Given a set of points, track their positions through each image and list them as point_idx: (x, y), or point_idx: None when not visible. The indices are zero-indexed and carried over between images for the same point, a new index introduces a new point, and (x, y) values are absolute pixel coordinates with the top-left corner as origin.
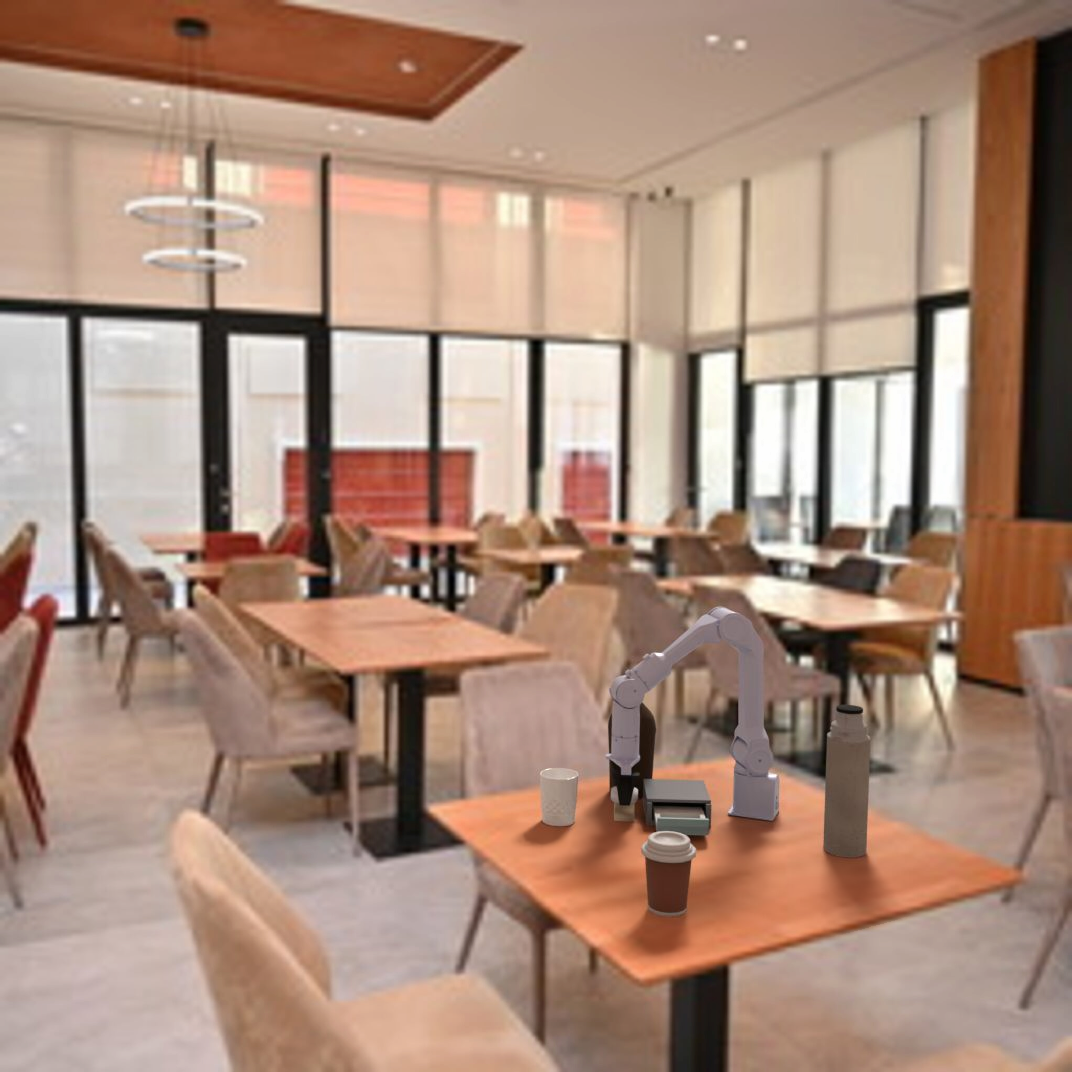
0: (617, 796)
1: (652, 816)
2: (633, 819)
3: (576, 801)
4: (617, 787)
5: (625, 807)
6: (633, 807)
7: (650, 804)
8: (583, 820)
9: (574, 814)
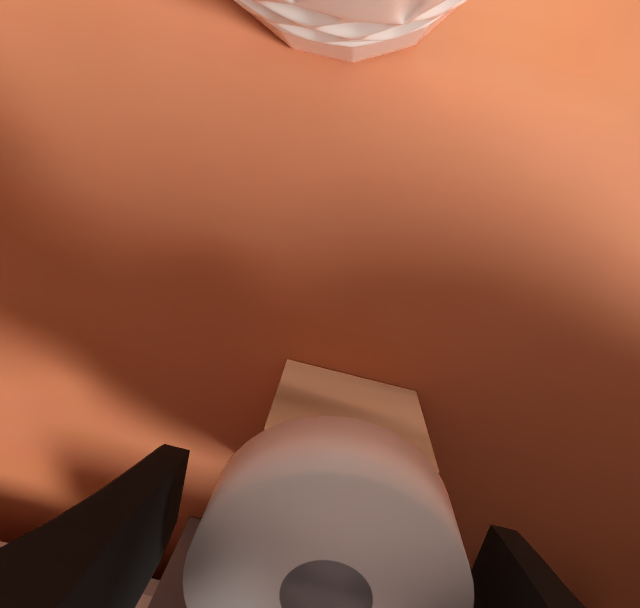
0: (228, 481)
1: None
2: None
3: (289, 19)
4: (2, 550)
5: None
6: None
7: None
8: (335, 140)
9: (270, 25)
